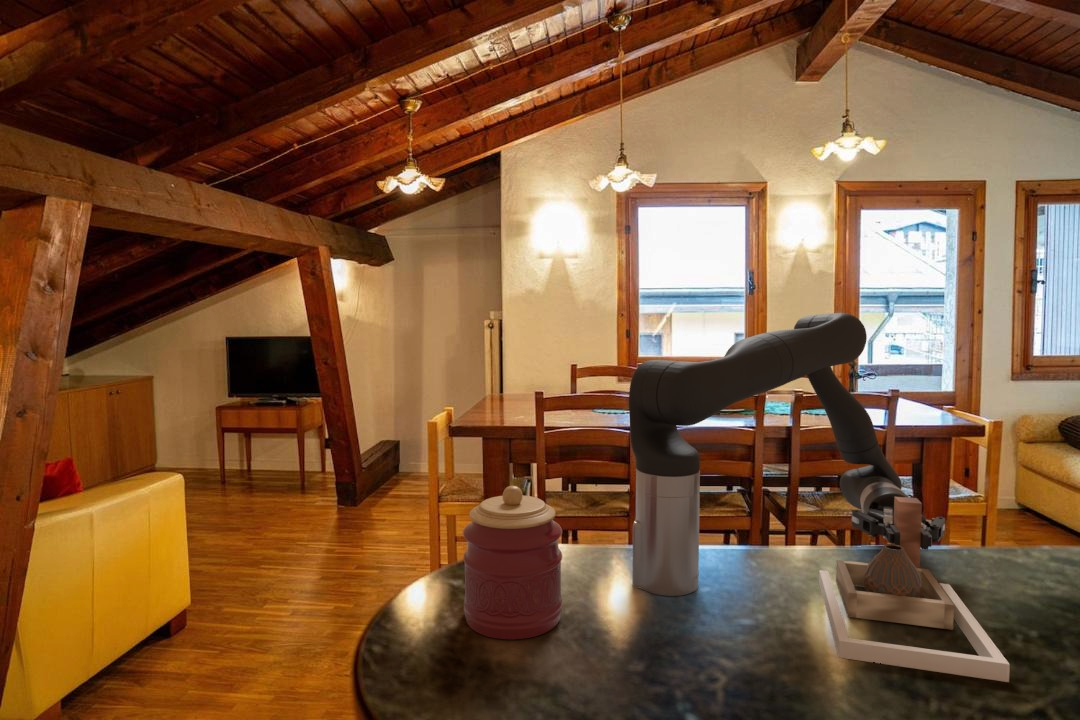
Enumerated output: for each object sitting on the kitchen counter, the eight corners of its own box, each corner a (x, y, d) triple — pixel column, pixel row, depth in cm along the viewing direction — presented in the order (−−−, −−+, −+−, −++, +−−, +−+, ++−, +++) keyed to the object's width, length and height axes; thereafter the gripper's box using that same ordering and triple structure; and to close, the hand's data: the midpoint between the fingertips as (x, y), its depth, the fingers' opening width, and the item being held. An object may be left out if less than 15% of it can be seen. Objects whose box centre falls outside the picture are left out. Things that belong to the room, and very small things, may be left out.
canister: (443, 619, 84) (441, 487, 83) (513, 588, 94) (512, 469, 93) (512, 653, 76) (512, 506, 75) (582, 616, 85) (582, 485, 84)
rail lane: (839, 657, 75) (839, 640, 74) (819, 583, 95) (819, 570, 95) (1008, 682, 69) (1009, 664, 69) (948, 598, 90) (949, 584, 90)
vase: (930, 624, 82) (932, 558, 82) (872, 620, 84) (874, 554, 83) (910, 601, 89) (912, 539, 89) (856, 597, 91) (858, 536, 90)
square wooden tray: (847, 616, 84) (850, 526, 83) (831, 567, 101) (833, 492, 100) (952, 629, 80) (956, 536, 80) (917, 576, 97) (920, 498, 96)
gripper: (842, 483, 111) (858, 511, 95) (935, 489, 107) (968, 520, 91) (841, 525, 112) (857, 561, 95) (933, 533, 107) (966, 572, 91)
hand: (911, 541), depth 93 cm, fingers closed on square wooden tray, 3 cm apart
